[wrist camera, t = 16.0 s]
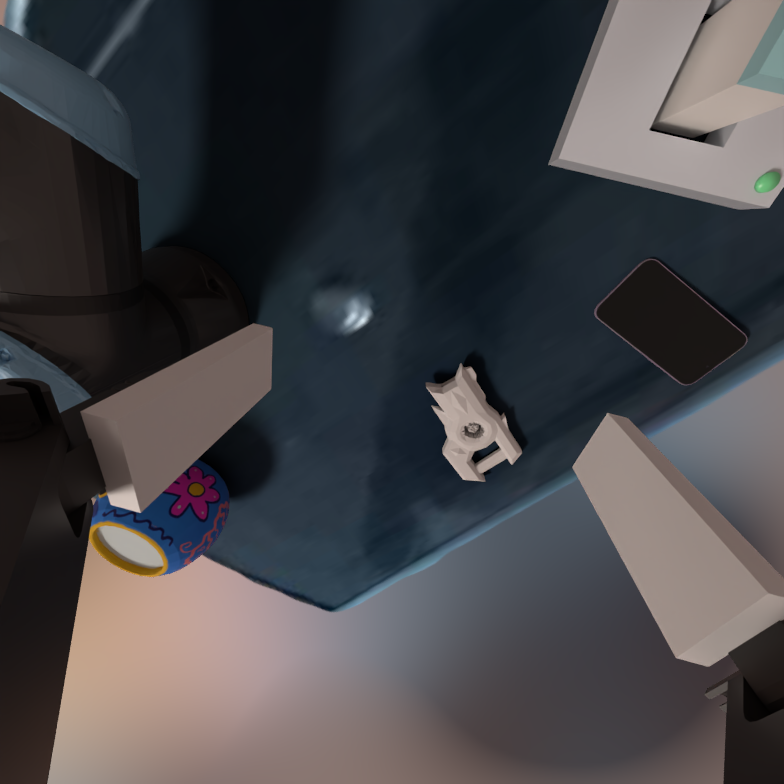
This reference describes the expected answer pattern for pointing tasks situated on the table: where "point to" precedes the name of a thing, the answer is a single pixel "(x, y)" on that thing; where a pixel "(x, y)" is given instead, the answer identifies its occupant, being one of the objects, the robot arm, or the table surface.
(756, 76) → the plug
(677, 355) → the smartphone
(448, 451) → the angular bracket part
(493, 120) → the table surface
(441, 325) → the table surface
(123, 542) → the ceramic pot
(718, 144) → the port
